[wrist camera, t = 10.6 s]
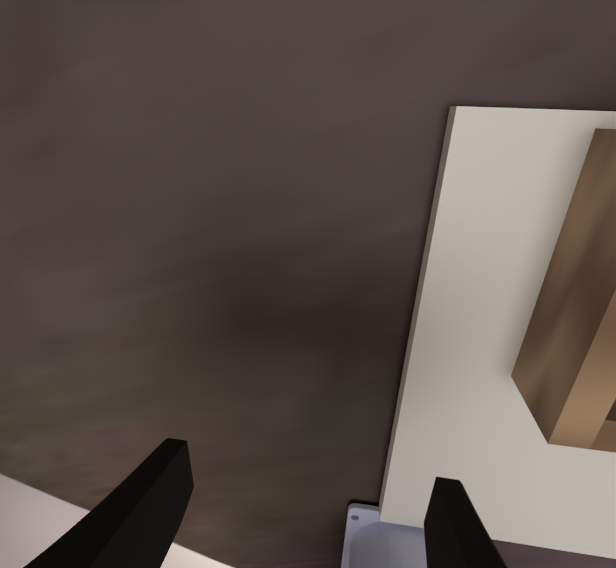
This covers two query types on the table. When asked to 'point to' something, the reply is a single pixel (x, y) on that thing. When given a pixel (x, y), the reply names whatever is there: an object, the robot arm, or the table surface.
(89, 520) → the robot arm
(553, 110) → the post board
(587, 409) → the square collar
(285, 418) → the table surface
